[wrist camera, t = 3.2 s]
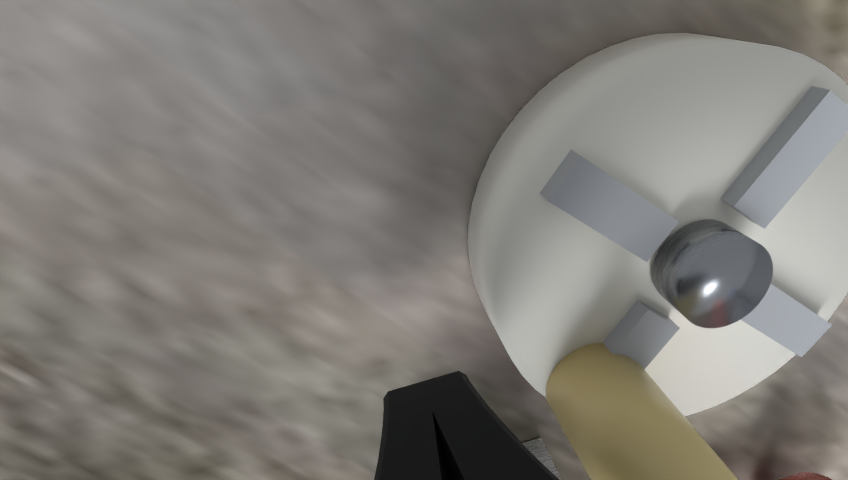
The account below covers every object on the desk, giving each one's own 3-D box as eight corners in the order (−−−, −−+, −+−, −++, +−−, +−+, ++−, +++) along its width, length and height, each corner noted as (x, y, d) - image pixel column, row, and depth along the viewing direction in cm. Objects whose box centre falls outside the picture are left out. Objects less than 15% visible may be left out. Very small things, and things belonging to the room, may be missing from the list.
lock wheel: (630, -58, 10) (961, -88, 5) (872, 159, 13) (1239, 280, 8) (391, 297, 13) (454, 532, 7) (645, 417, 16) (819, 646, 10)
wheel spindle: (653, 313, 12) (680, 339, 11) (651, 233, 11) (678, 255, 10) (737, 289, 12) (770, 313, 11) (741, 208, 11) (775, 227, 10)
